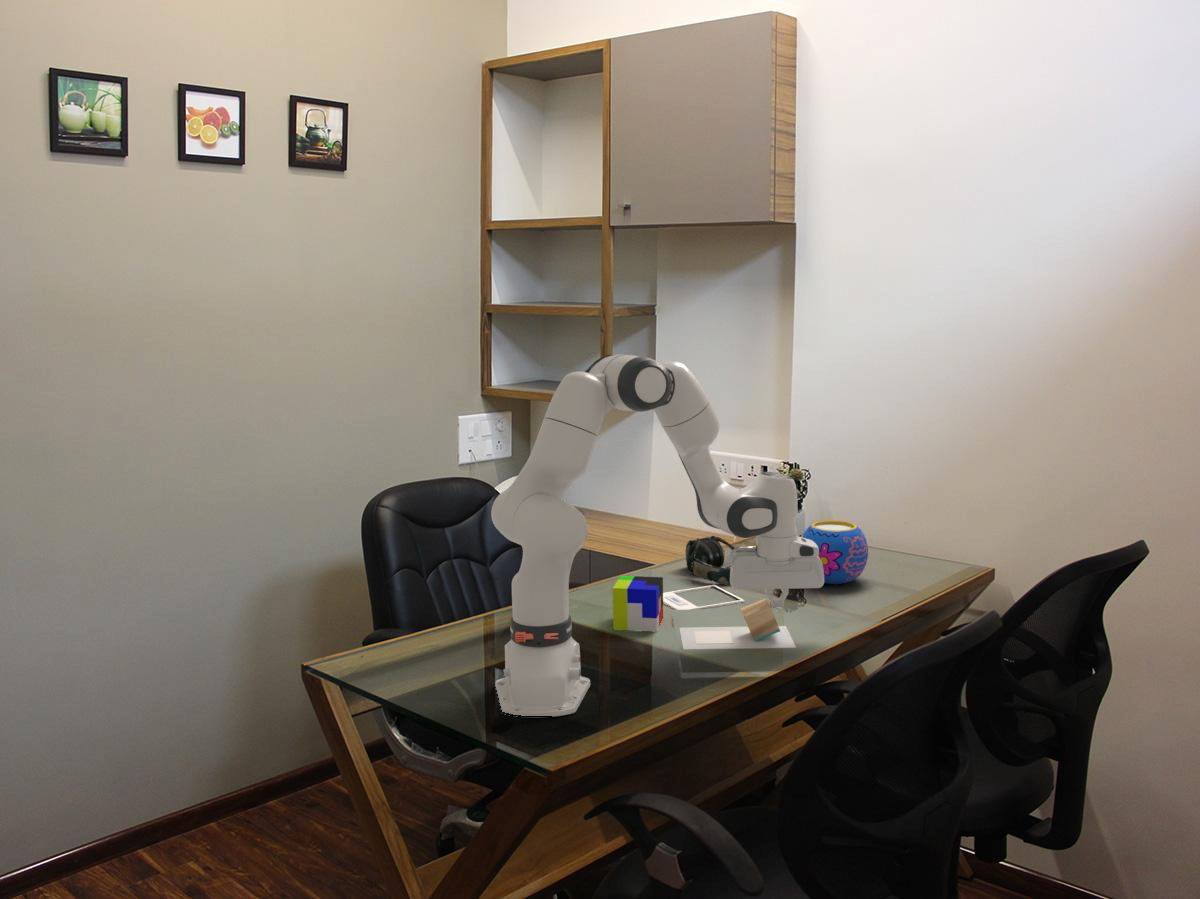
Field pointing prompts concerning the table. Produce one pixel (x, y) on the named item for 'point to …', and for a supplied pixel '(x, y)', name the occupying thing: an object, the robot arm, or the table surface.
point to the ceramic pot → (839, 549)
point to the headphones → (708, 559)
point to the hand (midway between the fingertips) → (776, 607)
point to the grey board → (732, 638)
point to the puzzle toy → (638, 603)
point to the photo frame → (683, 604)
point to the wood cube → (760, 619)
